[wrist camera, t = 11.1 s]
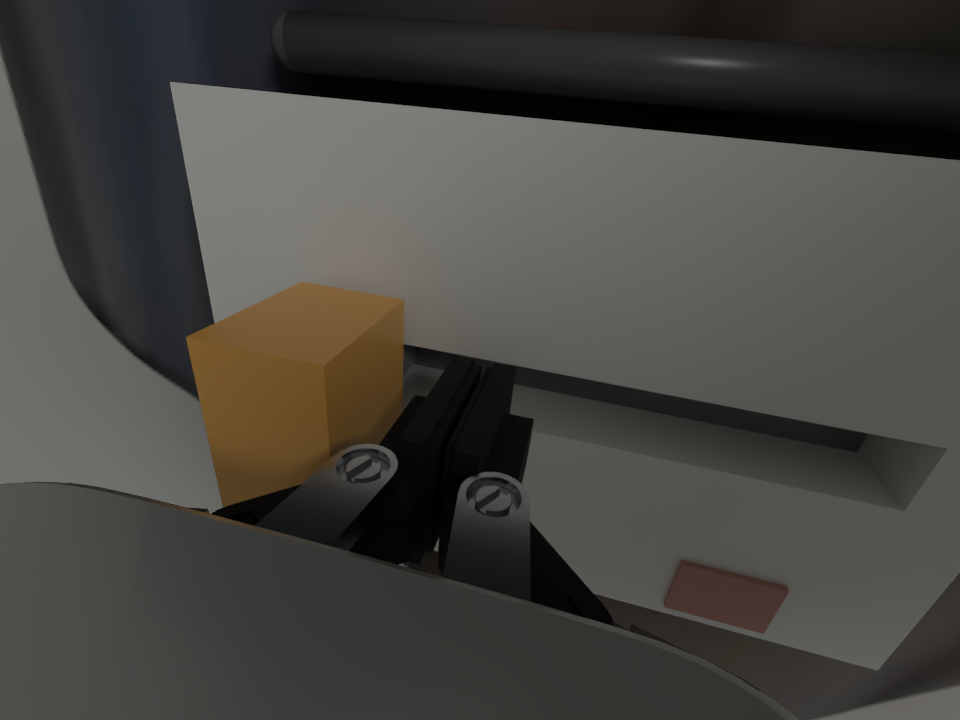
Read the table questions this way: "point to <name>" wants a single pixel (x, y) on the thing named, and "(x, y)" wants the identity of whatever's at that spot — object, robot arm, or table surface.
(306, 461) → the lever
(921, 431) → the switch panel
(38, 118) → the table surface
